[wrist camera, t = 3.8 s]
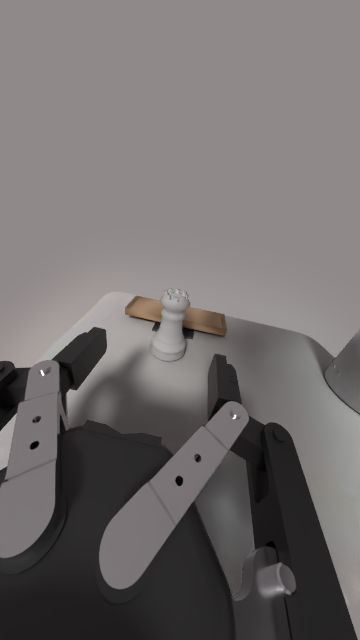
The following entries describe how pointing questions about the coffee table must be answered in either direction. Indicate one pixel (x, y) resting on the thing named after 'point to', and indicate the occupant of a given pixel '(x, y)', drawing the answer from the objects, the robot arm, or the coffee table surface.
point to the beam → (192, 320)
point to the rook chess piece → (171, 327)
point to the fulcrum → (185, 331)
